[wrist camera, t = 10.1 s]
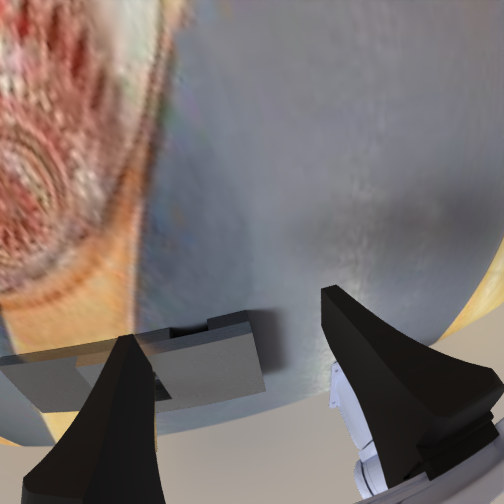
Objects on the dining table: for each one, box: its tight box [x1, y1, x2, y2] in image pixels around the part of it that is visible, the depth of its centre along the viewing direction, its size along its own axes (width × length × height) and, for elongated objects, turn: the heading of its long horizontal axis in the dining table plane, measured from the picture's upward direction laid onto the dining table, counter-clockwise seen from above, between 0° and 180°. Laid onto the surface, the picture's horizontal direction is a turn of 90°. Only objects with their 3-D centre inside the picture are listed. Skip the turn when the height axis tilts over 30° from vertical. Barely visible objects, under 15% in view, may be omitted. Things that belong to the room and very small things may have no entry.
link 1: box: [0, 328, 174, 413], centre depth 25 cm, size 8×18×1 cm, turn 99°
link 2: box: [75, 310, 266, 413], centre depth 25 cm, size 8×14×2 cm, turn 99°
